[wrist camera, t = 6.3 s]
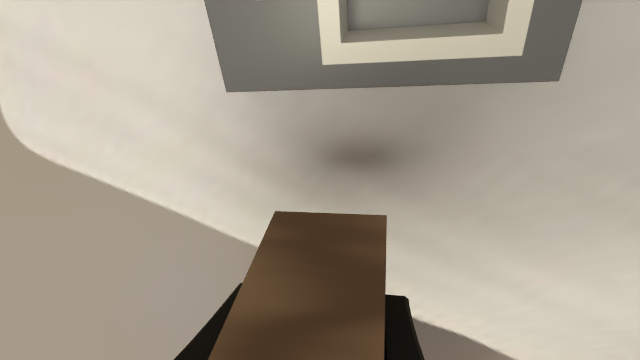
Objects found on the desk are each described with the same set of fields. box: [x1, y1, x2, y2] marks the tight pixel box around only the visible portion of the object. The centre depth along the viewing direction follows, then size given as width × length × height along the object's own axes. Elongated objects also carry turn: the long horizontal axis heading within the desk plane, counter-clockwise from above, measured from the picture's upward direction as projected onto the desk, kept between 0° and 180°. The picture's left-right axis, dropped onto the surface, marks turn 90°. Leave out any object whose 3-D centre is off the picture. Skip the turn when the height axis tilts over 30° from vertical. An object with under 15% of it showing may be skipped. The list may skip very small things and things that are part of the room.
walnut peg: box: [208, 211, 387, 360], centre depth 10 cm, size 4×4×8 cm
